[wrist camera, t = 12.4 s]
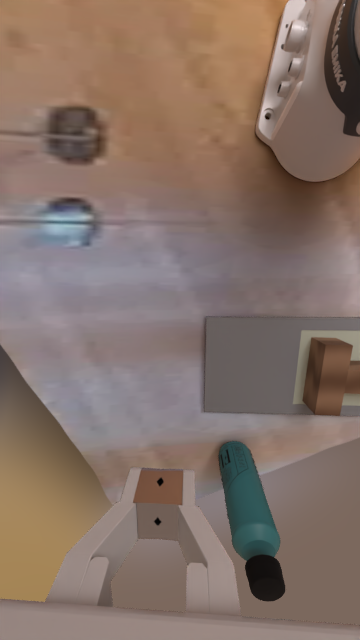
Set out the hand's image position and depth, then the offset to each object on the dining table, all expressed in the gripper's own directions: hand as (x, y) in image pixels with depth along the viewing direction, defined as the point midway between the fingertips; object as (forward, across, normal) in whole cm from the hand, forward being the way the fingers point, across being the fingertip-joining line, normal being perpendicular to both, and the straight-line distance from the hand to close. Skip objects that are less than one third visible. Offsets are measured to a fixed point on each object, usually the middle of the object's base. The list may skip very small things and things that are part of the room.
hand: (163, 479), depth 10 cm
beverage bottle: (+29, -10, +25) cm, 40 cm away
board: (+29, -18, +7) cm, 35 cm away
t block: (+28, -27, +7) cm, 40 cm away
